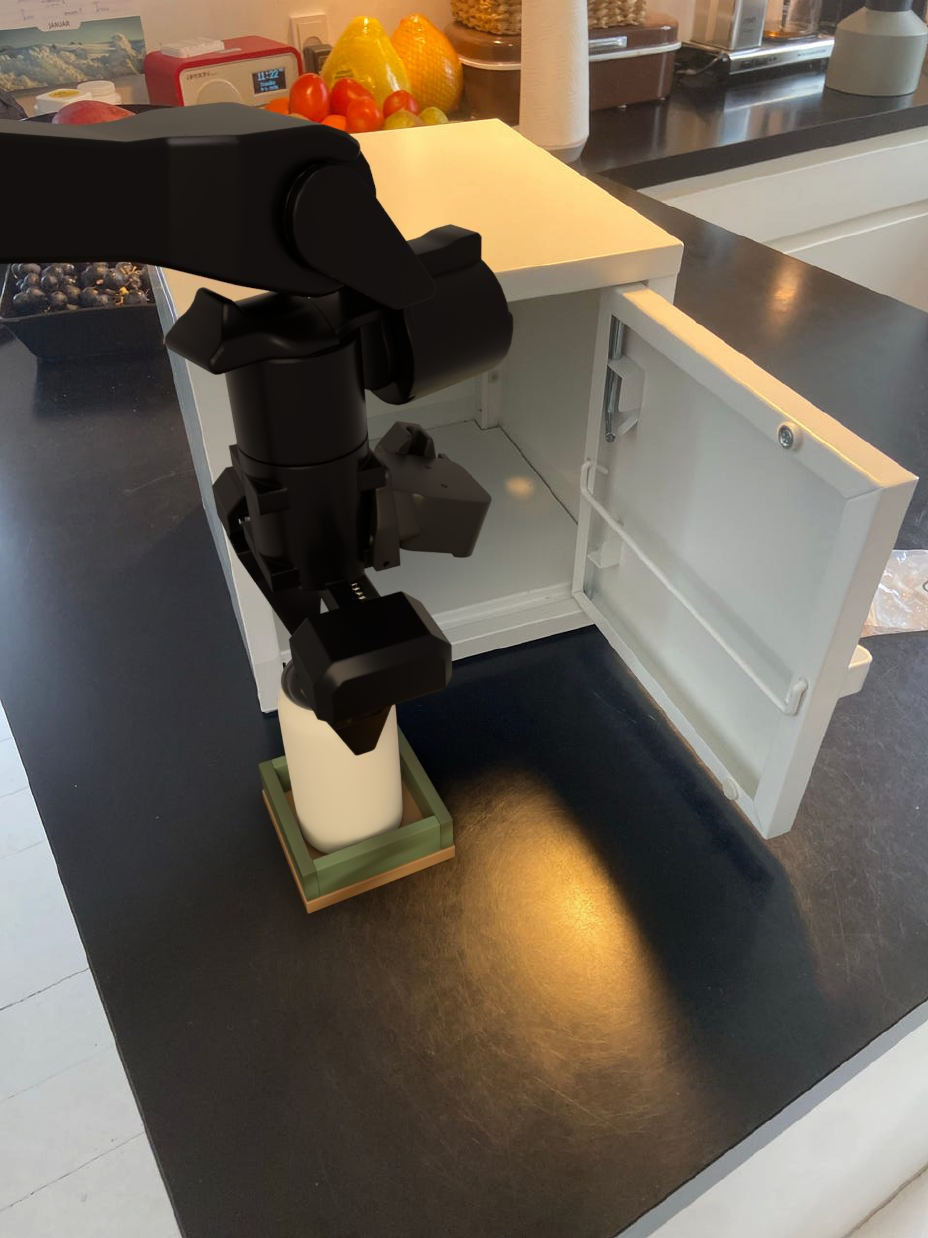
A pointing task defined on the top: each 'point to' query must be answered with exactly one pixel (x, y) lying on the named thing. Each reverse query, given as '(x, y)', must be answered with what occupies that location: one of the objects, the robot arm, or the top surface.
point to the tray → (372, 860)
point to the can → (337, 775)
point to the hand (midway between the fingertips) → (334, 694)
